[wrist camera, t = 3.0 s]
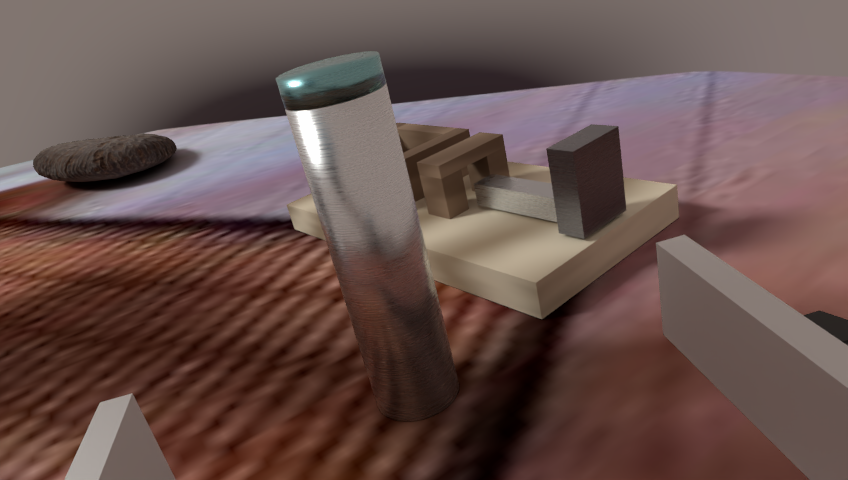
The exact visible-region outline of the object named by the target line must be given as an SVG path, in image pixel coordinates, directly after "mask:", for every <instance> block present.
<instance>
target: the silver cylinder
mask: <svg viewBox="0 0 848 480" xmlns="http://www.w3.org/2000/svg"><path fill="white" fill-rule="evenodd" d="M276 81H277V84H278V88H279V91H280V93H281V97H282V100H283V103H284V107H285V110H286V113H287V117H288V120H289V123H290V126H291V129H292V133H293V136H294V139H295V142H296V146H297V149H298V152H299V155H300V158H301V162H302V165H303V168H304V171H305V174H306V178H307V181H308V184H309V187H310V190H311V194H312V197H313V200H314V203H315V207H316V210H317V213H318V216H319V219H320V223H321V226H322V229H323V232H324V235H325V239H326V242H327V245H328V248H329V252H330V255H331V258H332V261H333V264H334V268H335V271H336V274H337V277H338V280H339V284H340V287H341V290H342V293H343V297H344V300H345V303H346V306H347V309H348V313H349V316H350V319H351V322H352V325H353V329H354V332H355V335H356V338H357V342H358V345H359V348H360V351H361V354H362V358H363V361H364V364H365V367H366V370H367V374H368V377H369V380H370V383H371V387H372V390H373V393H374V396H375V399H376V403H377V406H378V408H379V410H380V411H381V413H382V414H384V415H385V416H387V417H388V418H391V419H394V420H398V421H416V420H421V419H425V418H428V417H431V416H433V415H435V414H437V413H439V412H441V411H442V410H444V409H445V408H446V407H448V406H449V405H450V404H451V403H452V402H453V400H454V399H455V398H456V396H457V394H458V391H459V382H458V377H457V373H456V369H455V365H454V361H453V357H452V353H451V349H450V344H449V340H448V336H447V332H446V328H445V324H444V320H443V316H442V311H441V307H440V303H439V299H438V295H437V291H436V287H435V283H434V278H433V274H432V270H431V266H430V262H429V258H428V254H427V250H426V245H425V241H424V237H423V233H422V229H421V225H420V221H419V217H418V212H417V208H416V204H415V200H414V196H413V192H412V188H411V184H410V179H409V175H408V171H407V167H406V163H405V159H404V155H403V151H402V146H401V142H400V138H399V134H398V130H397V126H396V122H395V118H394V113H393V109H392V105H391V101H390V97H389V93H388V89H387V85H386V81H385V76H384V73H383V68H382V64H381V60H380V56H379V53H378V52H374V51H371V52H370V51H369V52H359V53H353V54H347V55H342V56H338V57H333V58H329V59H325V60H321V61H317V62H314V63H310V64H307V65H304V66H301V67H298V68H295V69H292V70H290V71H287V72H285V73H283V74H281V75H279V76H278V77H277V78H276Z"/></svg>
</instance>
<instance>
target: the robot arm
mask: <svg viewBox="0 0 848 480" xmlns="http://www.w3.org/2000/svg"><path fill="white" fill-rule="evenodd" d="M656 251H657V263H658V276H659V288H660V301H661V313H662V326H663V335H664V336H665V337H666V338H667V339H668V340H669V341H670V342H671V343H672V344H673V345H674V346H675V347H676V348H677V349H678V350H679V351H680V352H681V353H682V354H683V355H684V356H685V357H686V358H687V359H688V360H689V361H690V362H691V363H692V364H693V365H694V366H695V367H696V368H697V369H698V370H700V371H701V372H702V373H703V374H704V375H705V376H706V377H707V378H708V379H709V380H710V381H711V382H712V383H713V384H714V385H715V386H716V387H717V388H718V389H719V390H720V391H721V392H722V393H723V394H724V395H725V396H726V397H727V398H728V399H729V400H730V401H731V402H732V403H733V404H734V405H735V406H736V407H737V408H738V409H739V410H740V411H741V412H742V413H743V414H744V415H745V416H746V417H747V418H748V419H749V420H750V421H751V422H752V423H753V424H754V425H755V426H756V427H757V428H758V429H759V430H760V431H761V432H762V433H763V434H764V435H765V436H766V437H767V438H768V439H769V440H770V441H771V442H772V443H773V444H774V445H775V446H776V447H777V448H778V449H779V450H780V451H781V452H782V453H783V454H784V455H785V456H786V457H787V458H788V459H789V460H790V461H791V462H792V463H793V464H794V465H795V466H796V467H797V468H798V469H799V470H800V471H801V472H802V473H803V474H804V475H805V476H806V477H807V478H808V479H809V480H848V320H846V319H843V318H840V317H837V316H834V315H831V314H828V313H825V312H822V311H817V312H813V313H810V314H807V315H802V314H800V313H799V312H798V311H796V310H795V309H793V308H792V307H790V306H789V305H787V304H786V303H784V302H783V301H781V300H780V299H778V298H777V297H775V296H774V295H773V294H771V293H770V292H768V291H767V290H765V289H764V288H762V287H761V286H759V285H758V284H756V283H755V282H753V281H752V280H750V279H749V278H748V277H746V276H745V275H743V274H742V273H740V272H739V271H737V270H736V269H734V268H733V267H731V266H730V265H728V264H727V263H725V262H724V261H722V260H721V259H720V258H718V257H717V256H715V255H714V254H712V253H711V252H709V251H708V250H706V249H705V248H703V247H702V246H700V245H699V244H697V243H696V242H695V241H693V240H692V239H690V238H689V237H687V236H686V235H681V236H678V237H674V238H671V239H668V240H664V241H661V242H657V243H656ZM65 480H176V479H175V477H174V475H173V473H172V471H171V469H170V467H169V465H168V463H167V461H166V459H165V457H164V455H163V453H162V451H161V449H160V447H159V445H158V443H157V441H156V439H155V437H154V435H153V433H152V431H151V429H150V427H149V425H148V423H147V421H146V419H145V417H144V415H143V413H142V411H141V409H140V407H139V405H138V403H137V401H136V399H135V397H134V395H133V393H132V394H128V395H125V396H121V397H118V398H114V399H111V400H107V401H104V402H100V403H99V405H98V408H97V410H96V412H95V414H94V416H93V418H92V421H91V423H90V425H89V427H88V429H87V432H86V434H85V436H84V438H83V440H82V443H81V445H80V447H79V449H78V451H77V453H76V456H75V458H74V460H73V462H72V464H71V467H70V469H69V471H68V473H67V475H66V477H65Z"/></svg>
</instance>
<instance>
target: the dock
mask: <svg viewBox="0 0 848 480" xmlns="http://www.w3.org/2000/svg"><path fill="white" fill-rule="evenodd" d="M396 126H397V130H398V134H399V138H400V142H401V146H402V151H403V155H404V159H405V163H406V167H407V171H408V175H409V179H410V184H411V188H412V192H413V196H414V200H415V204H416V208H417V212H418V217H419V221H420V225H421V229H422V233H423V237H424V241H425V245H426V250H427V254H428V258H429V262H430V266H431V270H432V274H433V278H434V280H435V281H438V282H441V283H444V284H446V285H449V286H452V287H455V288H457V289H460V290H463V291H466V292H468V293H471V294H474V295H477V296H479V297H482V298H485V299H488V300H490V301H493V302H496V303H498V304H501V305H504V306H507V307H509V308H512V309H515V310H518V311H520V312H523V313H526V314H529V315H531V316H534V317H537V318H540V319H543V318H544V317H546V316H547V315H548V314H550V313H551V312H553V311H554V310H555V309H557V308H558V307H559V306H561V305H562V304H563V303H565V302H566V301H567V300H569V299H570V298H571V297H573V296H574V295H575V294H577V293H578V292H579V291H581V290H582V289H583V288H585V287H586V286H587V285H589V284H590V283H591V282H593V281H594V280H596V279H597V278H598V277H600V276H601V275H602V274H604V273H605V272H606V271H608V270H609V269H610V268H612V267H613V266H614V265H616V264H617V263H618V262H620V261H621V260H622V259H624V258H625V257H626V256H628V255H629V254H630V253H632V252H633V251H634V250H636V249H637V248H638V247H640V246H641V245H643V244H644V243H645V242H647V241H648V240H649V239H651V238H652V237H653V236H655V235H656V234H657V233H659V232H660V231H661V230H663V229H664V228H665V227H667V226H668V225H669V224H671V223H672V222H673V221H675V220H676V219H677V218H679V208H678V192H677V185H675V184H667V183H660V182H653V181H646V180H638V179H631V178H624V177H623V180H624V190H625V200H626V211H625V212H623V213H622V214H620V215H619V216H617V217H616V218H615V219H613V220H612V221H610V222H609V223H607V224H606V225H604V226H603V227H601V228H600V229H598V230H597V231H595V232H594V233H593V234H591V235H590V236H588V237H587V238H585V239H582V238H578V237H573V236H569V235H565V234H560V233H559V230H558V224H557V222H554V221H549V220H544V219H540V218H535V217H530V216H526V215H521V214H516V213H512V212H507V211H502V210H498V209H493V208H489V207H484V206H479V205H478V204H477V199H476V194H475V189H474V183H476V182H478V181H480V180H482V179H483V178H485V177H487V176H489V175H491V174H496V175H502V176H508V177H515V178H521V179H527V180H533V181H540V182H546V183H551V176H550V169H549V167H543V166H536V165H529V164H521V163H514V162H507V158H506V152H505V146H504V140H503V135H502V134H491V133H481V132H480V133H478V134H475V135H473V136H471V137H470V134H469V129H461V128H450V127H439V126H428V125H417V124H406V123H396ZM287 207H288V210H289V213H290V216H291V219H292V222H293V225H294V228H295V229H296V230H299V231H301V232H304V233H307V234H309V235H312V236H315V237H318V238H320V239H323V240H326V239H325V235H324V232H323V229H322V226H321V223H320V219H319V216H318V213H317V210H316V207H315V203H314V200H313V197H312V194H309V195H307V196H305V197H303V198H300V199H298V200H296V201H294V202H292V203H289V204H287Z"/></svg>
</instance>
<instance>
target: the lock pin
mask: <svg viewBox="0 0 848 480" xmlns="http://www.w3.org/2000/svg"><path fill="white" fill-rule="evenodd" d="M547 156H548V162H549V169H550V176H551V183H546V182H540V181H533V180H527V179H521V178H515V177H508V176H502V175H496V174H491V175H489V176H487V177H485V178H483V179H482V180H480V181H478V182H476V183H474V189H475V194H476V199H477V204H478V205H479V206H484V207H489V208H493V209H498V210H502V211H507V212H512V213H516V214H521V215H526V216H530V217H535V218H540V219H544V220H549V221H554V222H557V224H558V230H559V233H560V234H565V235H569V236H573V237H578V238H582V239H585V238H587V237H588V236H590V235H591V234H593V233H594V232H595V231H597V230H598V229H600V228H601V227H603V226H604V225H606V224H607V223H609V222H610V221H612V220H613V219H615V218H616V217H617V216H619V215H620V214H622V213H623V212H625V211H626V200H625V190H624V180H623V170H622V159H621V149H620V139H619V129H618V126H606V125H590V126H588V127H586V128H584V129H582V130H580V131H579V132H577V133H575V134H573V135H571V136H569V137H567V138H566V139H564V140H562V141H560V142H558V143H556V144H554V145H553V146H551V147H549V148H547Z"/></svg>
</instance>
